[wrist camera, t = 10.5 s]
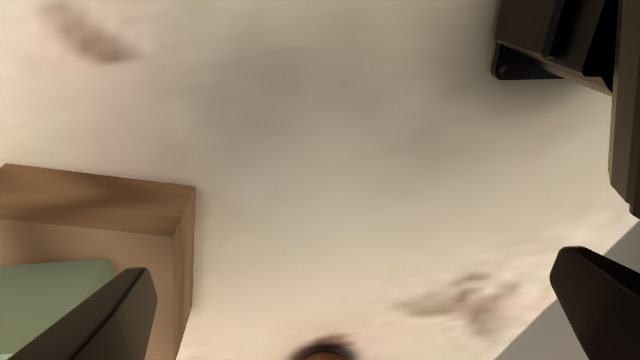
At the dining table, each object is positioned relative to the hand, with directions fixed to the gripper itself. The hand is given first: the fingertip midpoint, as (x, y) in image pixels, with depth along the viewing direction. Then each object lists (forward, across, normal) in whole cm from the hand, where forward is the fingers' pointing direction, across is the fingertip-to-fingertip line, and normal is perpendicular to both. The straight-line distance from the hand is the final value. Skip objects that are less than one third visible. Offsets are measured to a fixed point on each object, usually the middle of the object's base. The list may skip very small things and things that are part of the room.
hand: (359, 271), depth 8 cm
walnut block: (+13, +13, +9) cm, 21 cm away
